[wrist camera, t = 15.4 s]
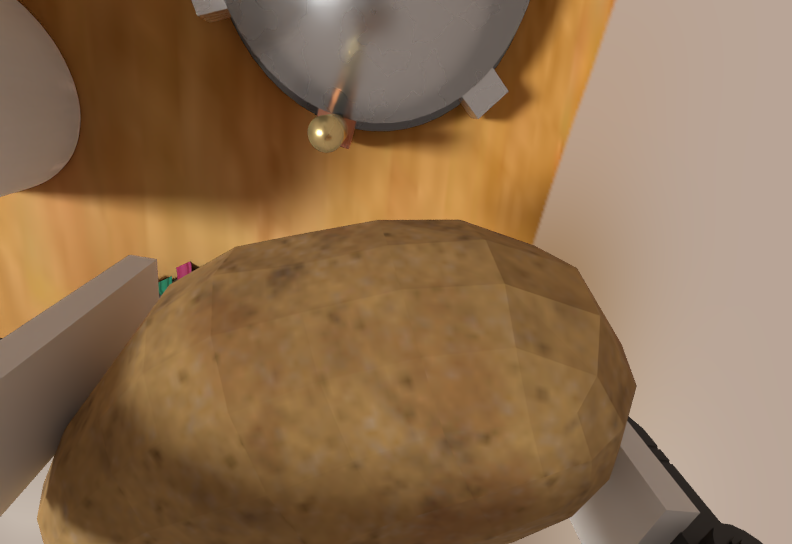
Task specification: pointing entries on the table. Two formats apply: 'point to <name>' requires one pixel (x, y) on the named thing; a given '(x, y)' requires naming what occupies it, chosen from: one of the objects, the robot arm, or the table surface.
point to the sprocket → (377, 55)
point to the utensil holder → (33, 102)
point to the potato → (350, 398)
